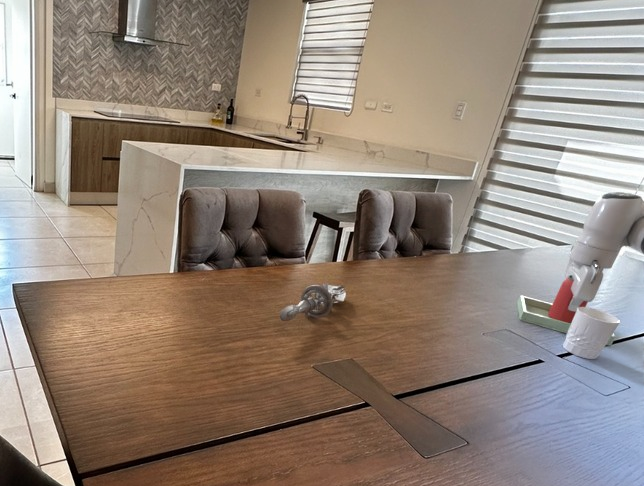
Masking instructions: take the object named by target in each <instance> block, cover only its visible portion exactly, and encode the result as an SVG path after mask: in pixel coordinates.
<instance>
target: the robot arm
mask: <svg viewBox="0 0 644 486" xmlns="http://www.w3.org/2000/svg"><path fill="white" fill-rule="evenodd" d="M623 247H628V248H631V249H632V250H634V251H636V252H637V253H640V254H641V255H644V200H643V198H642V196H641V195H639V194H636V193H632V192H624V191H623V192H621V191H613V192H607V193H604V194H602V195H600V197H598V198H597V200H596V201H595V203H594V204H593V205H592V207H591V208H590V211H589V213H588V214H587V216H586V219H585V221H584V222H583V229H582V231H581V233H580V235H579V236H578V237H577V238H576V241H575V242H574V244H573V245H572V246H571V248H570V253H569V256H568V258H569V260H568V263H567V265H566V267H565V272H564V278H565V279H567V278H568V276H570V275H572V279H574V281H573V284H572V287H571V291H572V293H573V299H572V300H571V302H570V303H569V305H568V309H569V310H570V311H577V308H578V307H579V306H580V304H581V303H582V302H583V301H587V302H588V303H591V302H593V301H594V299H595V298H596V296H597V293H598V291H599V289H600V287H601V284H602V281H603V279H604V270H608V269H612V268H613V265H614V264H615V262H616V259H617V258H618V255H619V253H620V252H621V250H622V248H623Z"/></svg>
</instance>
